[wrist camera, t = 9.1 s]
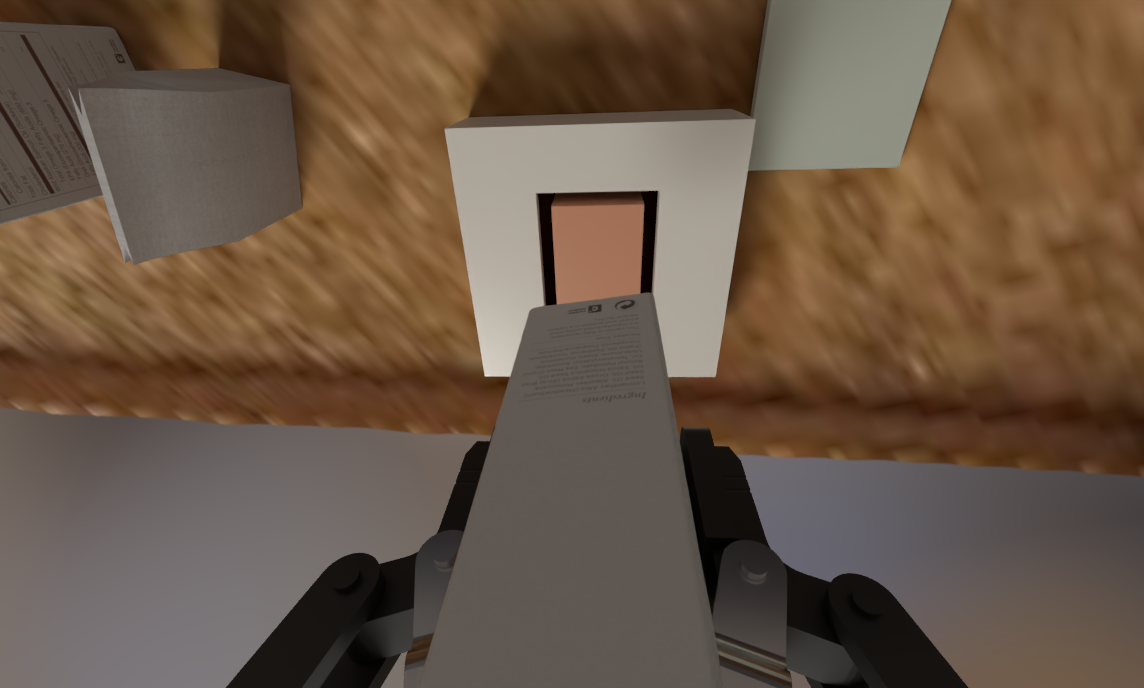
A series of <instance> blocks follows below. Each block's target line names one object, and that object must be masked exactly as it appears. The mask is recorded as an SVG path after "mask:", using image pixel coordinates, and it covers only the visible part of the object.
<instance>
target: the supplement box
mask: <svg viewBox="0 0 1144 688" xmlns="http://www.w3.org/2000/svg"><path fill="white" fill-rule="evenodd" d="M122 71H136V70H135V68H134V66H133V64H132V62H131V60H130V58H129V56H128V54H127V52H126V49H125V47H124V45H123V43H122V41H121V39H120V37H119V35H118V33H117V32H116V31H115V29H113V28H111V27H100V26H78V25H50V24H33V23H15V22H0V225H2V224H5V223H8V222H12V221H16V220H19V219H23V218H26V217H30V216H34V215H37V214H41V213H44V212H48V211H52V210H55V209H59V208H62V207H66V206H69V205H73V204H76V203H80V202H83V201H87V200H90V199H94V198H97V197H100V196H103V193H102V190H101V187H100V184H99V181H98V178H97V175H96V172H95V168H94V165H93V162H92V159H91V156H90V153H89V150H88V147H87V144H86V141H85V138H84V135H83V132H82V128H81V125H80V122H79V119H78V116H77V113H76V110H75V107H74V104H73V101H72V98H71V95H70V92H69V88H68V86H72V85H79V84H85V83H89V82H93V81H97V80H100V79H103V78H106V77H108V76H111V75H114V74H116V73H119V72H122Z"/></svg>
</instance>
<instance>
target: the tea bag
mask: <svg viewBox="0 0 1144 688" xmlns="http://www.w3.org/2000/svg"><path fill="white" fill-rule="evenodd" d="M68 88H69V92H70V95H71V98H72V101H73V104H74V107H75V110H76V113H77V116H78V119H79V122H80V125H81V128H82V132H83V135H84V138H85V141H86V144H87V147H88V150H89V153H90V156H91V159H92V162H93V165H94V168H95V172H96V175H97V178H98V181H99V184H100V187H101V190H102V193H103V196H104V199H105V202H106V205H107V208H108V212H109V215H110V218H111V221H112V224H113V227H114V230H115V233H116V236H117V239H118V242H119V245H120V248H121V252H122V255H123V258H124V261H125V263H126V262H128V261H129V260H132V262H133V264H134V265H135V264H138V263H141V262H145V261H148V260H151V259H155V258H159V257H164V256H168V255H172V254H177V253H181V252H186V251H191V250H196V249H201V248H206V247H211V246H216V245H222V244H227V243H232V242H237V241H240V240H242V239H244V238H246V237H247V236H249V235H251V234H253V233H255V232H257V231H259V230H261V229H263V228H265V227H267V226H269V225H271V224H273V223H275V222H277V221H279V220H281V219H283V218H284V217H286V216H288V215H290V214H292V213H294V212H296V211H298V210H300V209H302V200H301V190H300V180H299V170H298V161H297V151H296V141H295V131H294V121H293V111H292V101H291V91H290V85H289V84H285V83H281V82H276V81H272V80H268V79H264V78H259V77H255V76H251V75H246V74H242V73H238V72H234V71H229V70H225V69H221V68H207V69H179V70H151V71H122V72H119V73H116V74H114V75H111V76H108V77H106V78H103V79H100V80H97V81H93V82H89V83H85V84H79V85H72V86H68Z"/></svg>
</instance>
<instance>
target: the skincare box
mask: <svg viewBox="0 0 1144 688" xmlns="http://www.w3.org/2000/svg"><path fill="white" fill-rule="evenodd" d="M418 688H723V682H722V676H721V669H720V663H719V657H718V651H717V645H716V639H715V632H714V626H713V620H712V615H711V609H710V604H709V599H708V594H707V589H706V584H705V579H704V574H703V569H702V564H701V558H700V553H699V548H698V542H697V537H696V531H695V525H694V520H693V514H692V508H691V503H690V497H689V491H688V486H687V481H686V476H685V470H684V463H683V458H682V452H681V447H680V441H679V436H678V430H677V425H676V419H675V414H674V408H673V402H672V396H671V391H670V385H669V379H668V373H667V367H666V360H665V355H664V350H663V344H662V338H661V332H660V327H659V321H658V316H657V310H656V304H655V299H654V295H653V294H652V293H641V294H633V295H625V296H618V297H610V298H604V299H596V300H588V301H581V302H574V303H565V304H558V305H549V306H541V307H535V308H532V309H531V310H530V311H529V314H528V318H527V321H526V325H525V328H524V331H523V334H522V338H521V342H520V345H519V348H518V352H517V355H516V359H515V362H514V365H513V369H512V372H511V375H510V379H509V382H508V386H507V389H506V392H505V395H504V399H503V402H502V405H501V408H500V411H499V415H498V418H497V422H496V425H495V428H494V432H493V435H492V438H491V442H490V446H489V450H488V453H487V456H486V459H485V463H484V466H483V470H482V473H481V476H480V480H479V483H478V486H477V490H476V493H475V496H474V500H473V503H472V507H471V510H470V513H469V517H468V520H467V524H466V527H465V531H464V534H463V538H462V541H461V544H460V547H459V550H458V554H457V557H456V561H455V564H454V568H453V571H452V575H451V578H450V581H449V584H448V587H447V591H446V594H445V597H444V601H443V604H442V608H441V611H440V615H439V618H438V622H437V625H436V629H435V632H434V635H433V639H432V642H431V645H430V649H429V652H428V655H427V659H426V662H425V665H424V669H423V672H422V675H421V678H420V682H419V685H418Z"/></svg>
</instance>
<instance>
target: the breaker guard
mask: <svg viewBox="0 0 1144 688" xmlns="http://www.w3.org/2000/svg"><path fill="white" fill-rule="evenodd" d="M755 122H756V119H755V118H753V117H750V116H748V115H745V114H743V113H741V112H738V111H736V110H733V109H710V110H679V111H648V112H617V113H586V114H555V115H524V116H494V117H468V118H466V119H464V120H462V121H459V122H457V123H455V124H453V125H451V126H449V127H447V128H445V135H446V141H447V147H448V153H449V159H450V165H451V171H452V178H453V184H454V190H455V196H456V202H457V208H458V214H459V221H460V227H461V233H462V239H463V245H464V251H465V257H466V263H467V270H468V276H469V282H470V288H471V294H472V300H473V306H474V313H475V319H476V325H477V331H478V337H479V343H480V349H481V355H482V362H483V368H484V374H485V376H510V375H511V372H512V369H513V365H514V362H515V359H516V355H517V352H518V348H519V345H520V342H521V338H522V334H523V331H524V328H525V325H526V321H527V318H528V314H529V311H530V310H531V309H532V308H535V307H541V306H546V299H545V285H544V270H543V256H542V242H541V228H540V214H539V200H538V193H571V192H617V191H658V198H657V215H656V231H655V247H654V263H653V280H652V294H653V295H654V299H655V304H656V310H657V316H658V321H659V327H660V332H661V338H662V344H663V350H664V355H665V360H666V367H667V373H668V377H716V371H717V364H718V358H719V351H720V345H721V339H722V332H723V326H724V320H725V313H726V307H727V301H728V294H729V288H730V281H731V275H732V269H733V262H734V256H735V250H736V243H737V237H738V230H739V224H740V218H741V211H742V205H743V199H744V192H745V186H746V180H747V173H748V167H749V160H750V154H751V148H752V141H753V135H754V129H755Z"/></svg>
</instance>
